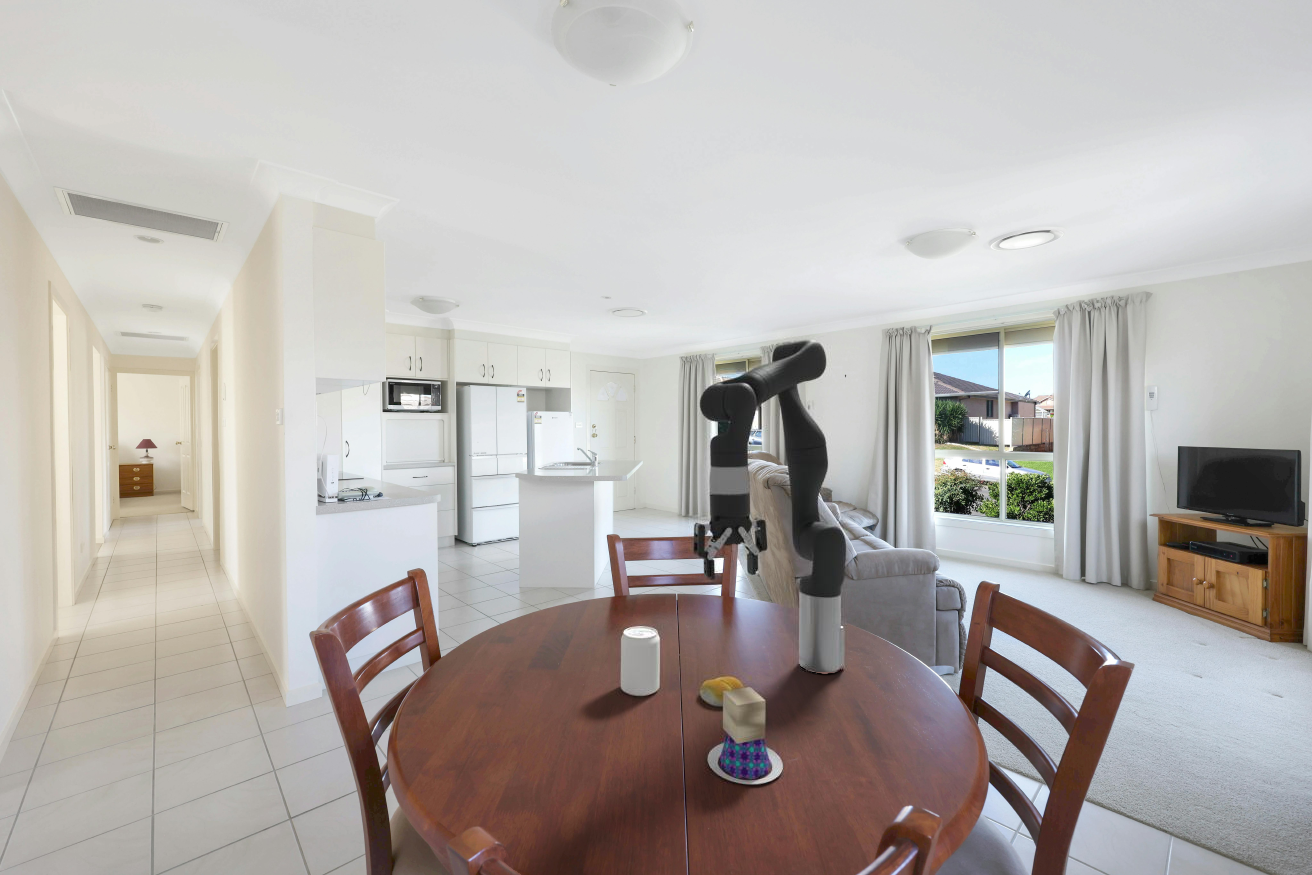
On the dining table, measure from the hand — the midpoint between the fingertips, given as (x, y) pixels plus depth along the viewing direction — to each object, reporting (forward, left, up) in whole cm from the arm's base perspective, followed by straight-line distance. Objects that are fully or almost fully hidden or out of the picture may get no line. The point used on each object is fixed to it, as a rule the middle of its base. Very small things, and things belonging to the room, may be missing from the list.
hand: (731, 576), depth 104 cm
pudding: (+4, +14, -27) cm, 31 cm away
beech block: (+4, +14, -22) cm, 26 cm away
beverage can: (+13, -16, -27) cm, 34 cm away
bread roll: (-2, -8, -27) cm, 29 cm away
